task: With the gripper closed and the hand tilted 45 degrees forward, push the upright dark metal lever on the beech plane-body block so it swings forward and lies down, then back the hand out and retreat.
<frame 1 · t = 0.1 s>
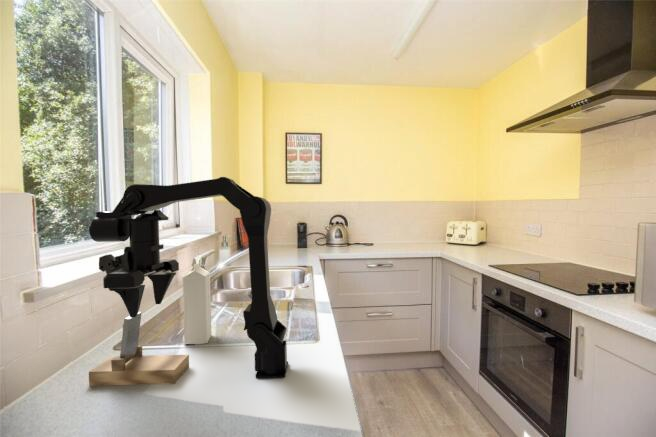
hand: (146, 310, 70), 15 cm above the countertop, tool pointing down, fingers open, 9 cm apart
lever cap: (128, 337, 69), point 9 cm above the countertop, hinge at -8.0°
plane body: (141, 376, 69), on the countertop
milk: (198, 340, 88), on the countertop
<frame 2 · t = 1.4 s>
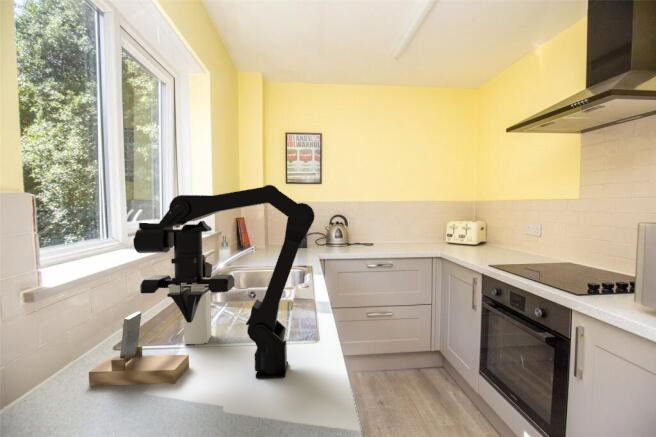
hand: (190, 321, 69), 12 cm above the countertop, tool pointing down, fingers closed
nothing on the countertop moved.
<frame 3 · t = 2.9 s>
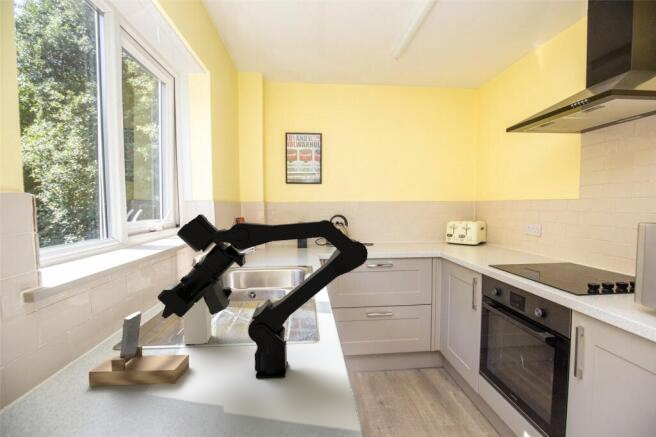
hand: (164, 316, 69), 13 cm above the countertop, tool tilted 45°, fingers closed
nothing on the countertop moved.
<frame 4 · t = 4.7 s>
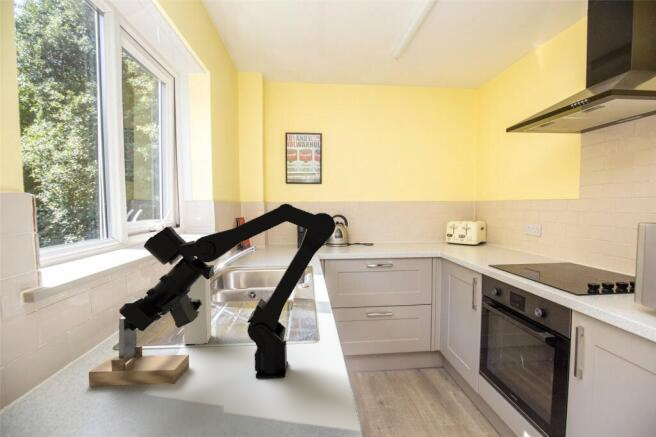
hand: (131, 329, 69), 11 cm above the countertop, tool tilted 45°, fingers closed, pressing on lever cap
lever cap: (126, 337, 69), point 9 cm above the countertop, hinge at -2.2°, touching gripper
everything else where it was.
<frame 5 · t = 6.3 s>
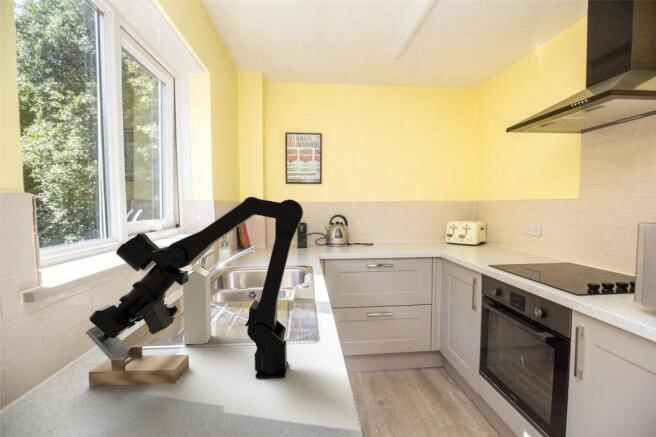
hand: (106, 336, 69), 9 cm above the countertop, tool tilted 45°, fingers closed, pressing on lever cap
lever cap: (108, 344, 69), point 7 cm above the countertop, hinge at 40.0°, touching gripper
everything else where it was.
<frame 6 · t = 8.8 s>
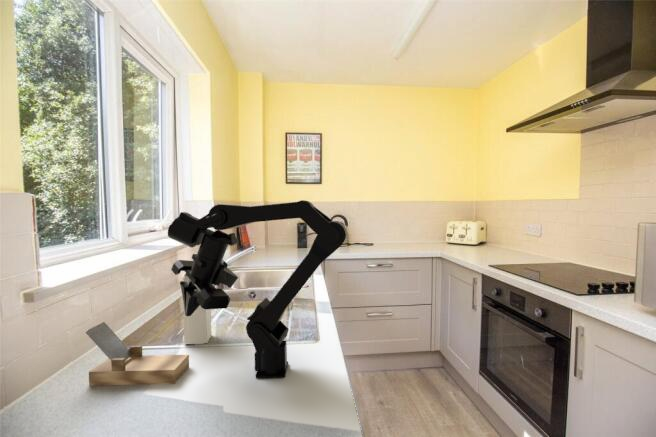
hand: (187, 315, 73), 12 cm above the countertop, tool tilted 25°, fingers closed
lever cap: (108, 344, 69), point 7 cm above the countertop, hinge at 40.2°
everything else where it was.
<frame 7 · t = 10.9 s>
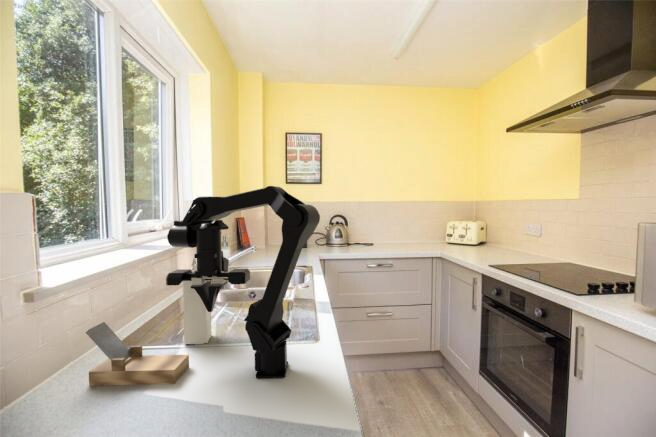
hand: (210, 311, 76), 12 cm above the countertop, tool pointing down, fingers closed
nothing on the countertop moved.
at the end: lever cap at +40° (first picture: -8°); milk moved 0.2 cm from its start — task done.
